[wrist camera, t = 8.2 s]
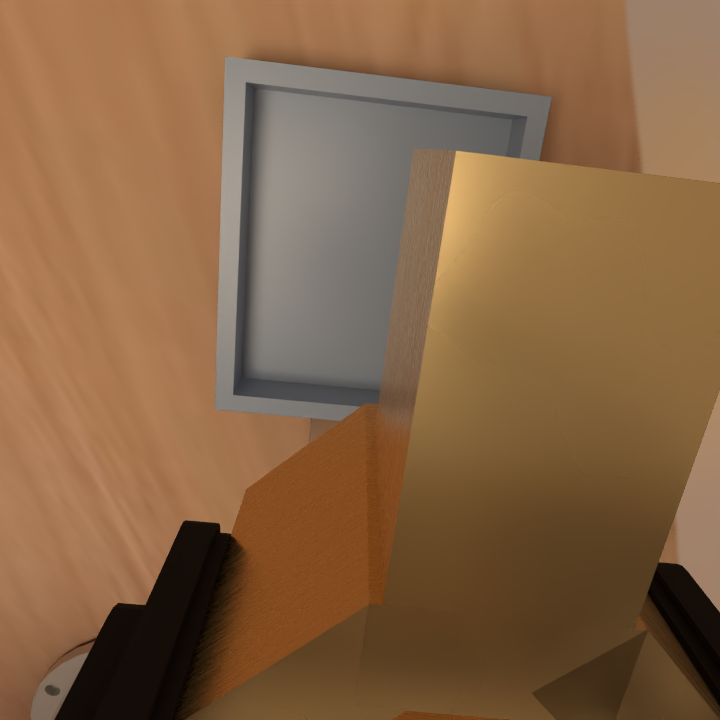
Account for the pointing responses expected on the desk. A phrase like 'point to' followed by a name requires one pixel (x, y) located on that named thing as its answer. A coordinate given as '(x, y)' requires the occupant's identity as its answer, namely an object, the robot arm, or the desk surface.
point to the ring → (491, 470)
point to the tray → (329, 221)
